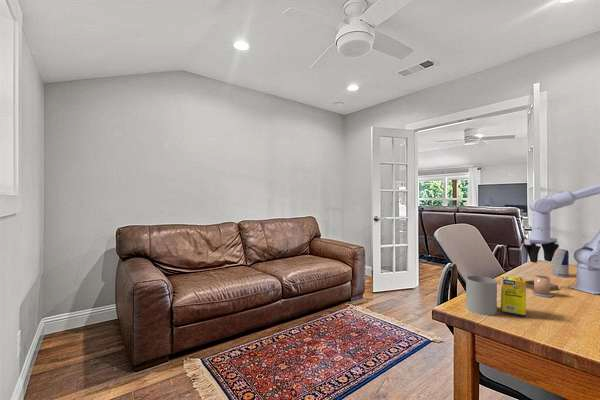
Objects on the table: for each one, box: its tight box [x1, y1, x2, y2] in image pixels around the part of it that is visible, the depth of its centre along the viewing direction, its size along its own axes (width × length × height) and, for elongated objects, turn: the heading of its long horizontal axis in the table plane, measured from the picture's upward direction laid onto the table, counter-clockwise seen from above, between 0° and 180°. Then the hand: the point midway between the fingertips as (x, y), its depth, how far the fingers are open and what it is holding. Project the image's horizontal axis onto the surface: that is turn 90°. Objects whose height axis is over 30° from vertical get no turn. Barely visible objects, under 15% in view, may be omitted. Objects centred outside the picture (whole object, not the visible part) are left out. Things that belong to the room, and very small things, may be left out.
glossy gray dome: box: [531, 290, 555, 298], centre depth 105 cm, size 6×6×1 cm
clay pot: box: [533, 274, 551, 295], centre depth 106 cm, size 4×4×6 cm
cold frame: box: [525, 279, 559, 291], centre depth 114 cm, size 10×8×2 cm
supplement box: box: [500, 274, 527, 318], centre depth 90 cm, size 6×6×11 cm
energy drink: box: [552, 248, 570, 278], centre depth 130 cm, size 5×5×12 cm
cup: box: [465, 275, 498, 316], centre depth 92 cm, size 8×8×10 cm
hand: (540, 261), depth 115 cm, fingers open, 7 cm apart
